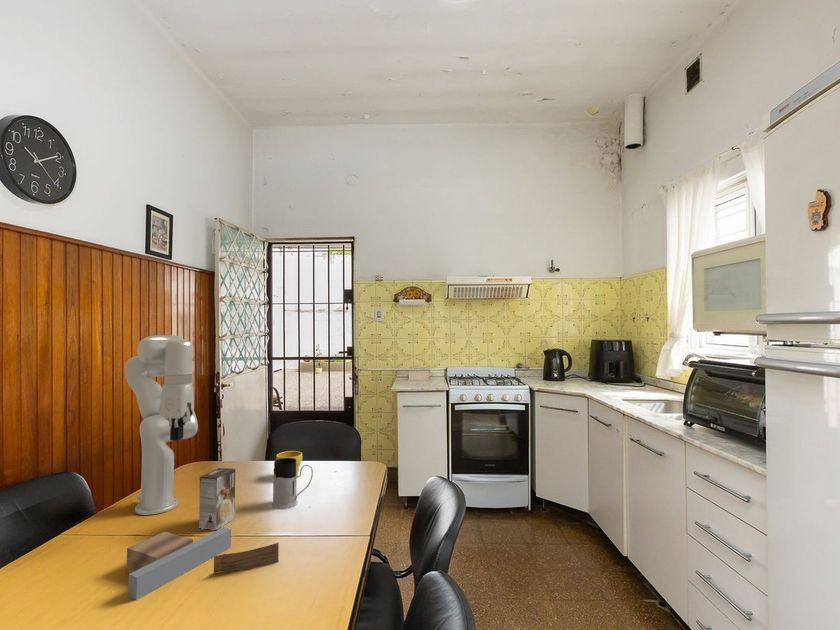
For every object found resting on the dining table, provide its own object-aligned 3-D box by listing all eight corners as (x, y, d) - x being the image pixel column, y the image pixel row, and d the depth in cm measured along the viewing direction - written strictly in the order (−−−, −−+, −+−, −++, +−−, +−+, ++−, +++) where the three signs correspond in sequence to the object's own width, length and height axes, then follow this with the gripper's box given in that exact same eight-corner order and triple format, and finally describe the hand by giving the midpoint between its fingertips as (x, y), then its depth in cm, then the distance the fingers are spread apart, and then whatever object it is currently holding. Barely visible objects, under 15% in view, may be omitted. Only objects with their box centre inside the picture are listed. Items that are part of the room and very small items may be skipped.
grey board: (128, 596, 97) (128, 574, 97) (223, 545, 121) (223, 527, 121) (136, 600, 96) (137, 577, 96) (230, 547, 119) (231, 529, 120)
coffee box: (217, 516, 139) (219, 467, 140) (235, 518, 138) (236, 468, 139) (197, 529, 130) (199, 476, 131) (216, 531, 129) (217, 477, 130)
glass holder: (276, 499, 154) (277, 457, 155) (315, 499, 154) (316, 457, 154) (267, 509, 146) (268, 464, 146) (308, 509, 145) (309, 465, 146)
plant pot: (278, 474, 182) (279, 450, 182) (303, 473, 183) (304, 450, 183) (273, 482, 171) (273, 457, 172) (299, 481, 172) (299, 457, 173)
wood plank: (277, 560, 113) (278, 540, 113) (278, 563, 111) (279, 544, 111) (213, 573, 107) (214, 553, 107) (213, 577, 105) (213, 557, 105)
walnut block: (126, 572, 107) (127, 548, 107) (164, 553, 116) (164, 531, 117) (155, 582, 103) (156, 557, 103) (192, 562, 112) (192, 539, 112)
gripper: (150, 380, 132) (149, 439, 131) (183, 382, 126) (181, 445, 125) (173, 377, 139) (171, 434, 138) (205, 380, 133) (204, 439, 132)
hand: (176, 439), depth 132 cm, fingers closed
